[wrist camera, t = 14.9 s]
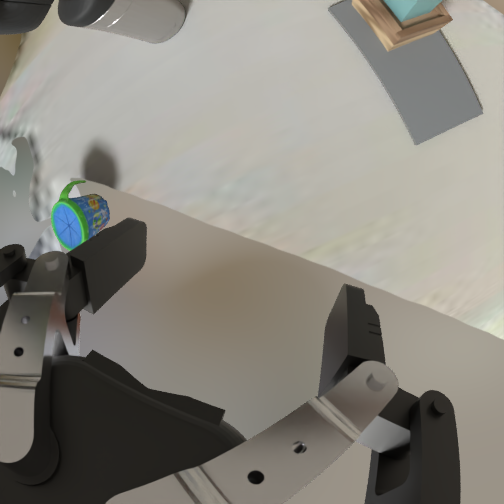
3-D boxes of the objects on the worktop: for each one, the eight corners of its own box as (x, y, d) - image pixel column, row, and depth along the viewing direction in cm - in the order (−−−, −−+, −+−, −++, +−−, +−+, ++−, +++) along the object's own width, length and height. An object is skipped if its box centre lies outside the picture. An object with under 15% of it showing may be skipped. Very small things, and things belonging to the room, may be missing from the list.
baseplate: (328, 10, 29) (328, 8, 28) (399, -17, 23) (400, -19, 22) (414, 144, 35) (416, 145, 34) (480, 113, 29) (483, 113, 28)
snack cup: (80, 172, 52) (45, 186, 43) (114, 176, 50) (78, 191, 41) (87, 237, 59) (57, 256, 50) (119, 246, 57) (89, 269, 49)
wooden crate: (351, 4, 27) (355, -19, 19) (397, -12, 23) (409, -35, 16) (387, 51, 29) (401, 37, 22) (432, 34, 25) (452, 19, 18)
